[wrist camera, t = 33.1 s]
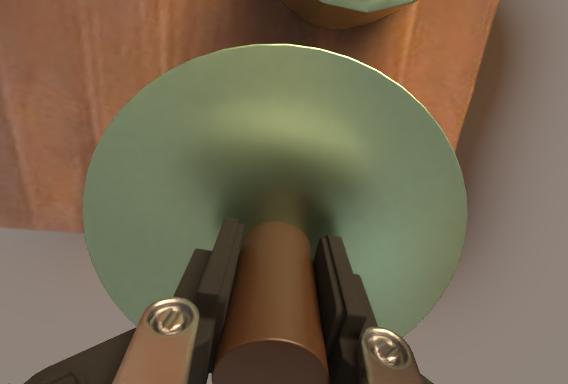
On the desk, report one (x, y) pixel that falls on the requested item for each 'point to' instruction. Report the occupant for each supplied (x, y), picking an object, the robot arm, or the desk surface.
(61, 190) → the desk surface
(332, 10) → the tin
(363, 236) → the tin lid
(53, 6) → the desk surface
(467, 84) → the desk surface
